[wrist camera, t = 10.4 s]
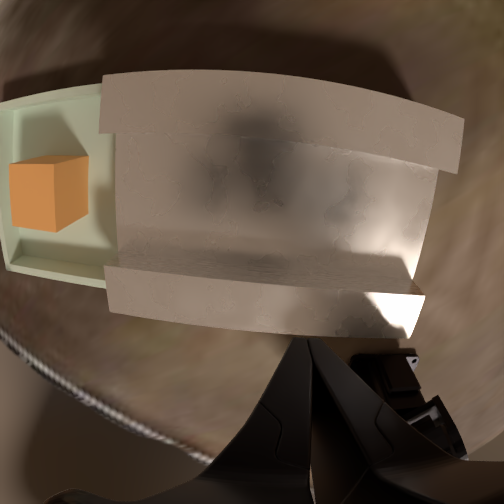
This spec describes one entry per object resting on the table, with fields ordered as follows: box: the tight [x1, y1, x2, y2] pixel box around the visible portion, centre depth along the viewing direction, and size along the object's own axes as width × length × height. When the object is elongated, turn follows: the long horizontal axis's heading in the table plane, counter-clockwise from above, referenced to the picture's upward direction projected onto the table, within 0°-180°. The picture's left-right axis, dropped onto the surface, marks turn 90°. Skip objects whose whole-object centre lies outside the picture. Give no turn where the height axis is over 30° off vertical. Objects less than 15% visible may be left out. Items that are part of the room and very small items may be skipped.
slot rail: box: [99, 70, 464, 338], centre depth 17 cm, size 13×18×5 cm
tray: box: [0, 83, 118, 288], centre depth 18 cm, size 13×11×2 cm
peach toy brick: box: [9, 155, 89, 233], centre depth 17 cm, size 4×4×4 cm
